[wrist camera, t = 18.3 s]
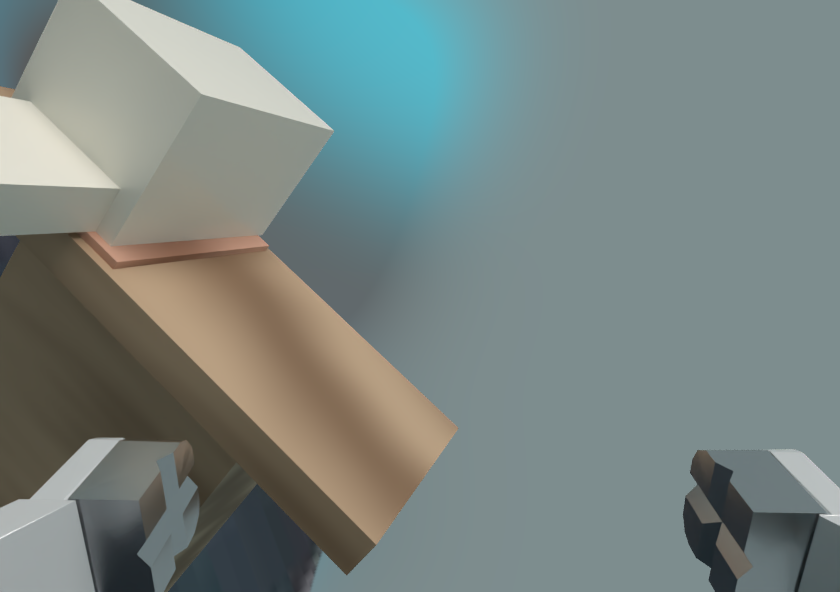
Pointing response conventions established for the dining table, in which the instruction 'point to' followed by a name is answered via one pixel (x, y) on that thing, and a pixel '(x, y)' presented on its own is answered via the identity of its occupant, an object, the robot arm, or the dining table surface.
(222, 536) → the dining table surface
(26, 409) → the wooden post with base
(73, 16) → the white block with handle
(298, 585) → the dining table surface
